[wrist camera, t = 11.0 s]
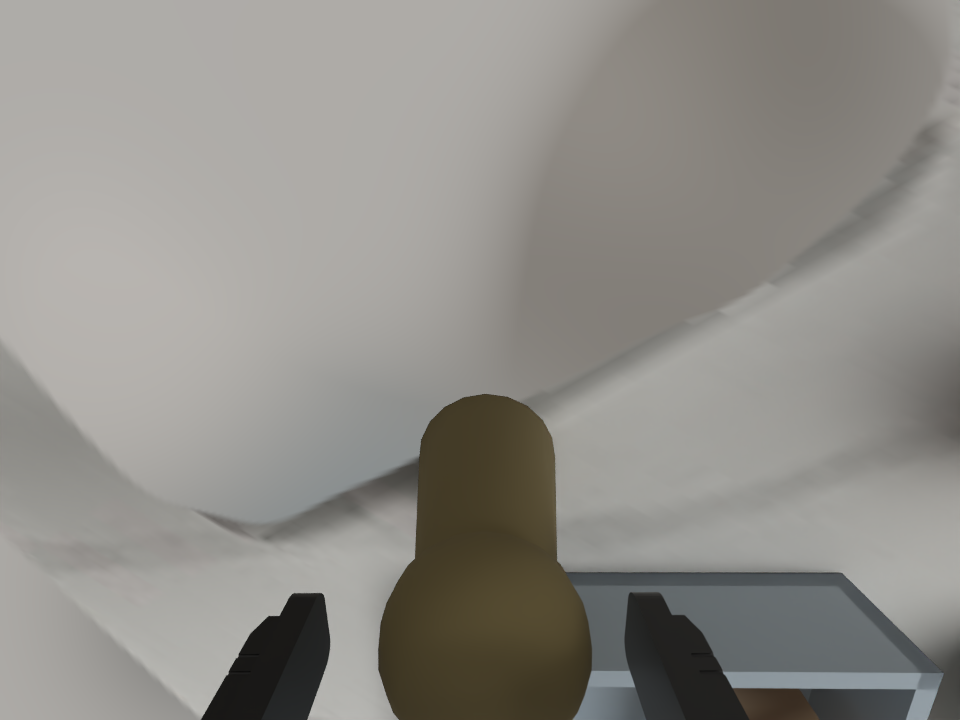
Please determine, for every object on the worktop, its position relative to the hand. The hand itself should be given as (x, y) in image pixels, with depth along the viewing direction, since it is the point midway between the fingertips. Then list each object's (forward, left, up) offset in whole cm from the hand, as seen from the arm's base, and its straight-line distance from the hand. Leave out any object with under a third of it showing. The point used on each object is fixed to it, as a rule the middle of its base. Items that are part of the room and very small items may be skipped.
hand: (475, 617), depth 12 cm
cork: (0, 0, -9) cm, 9 cm away
